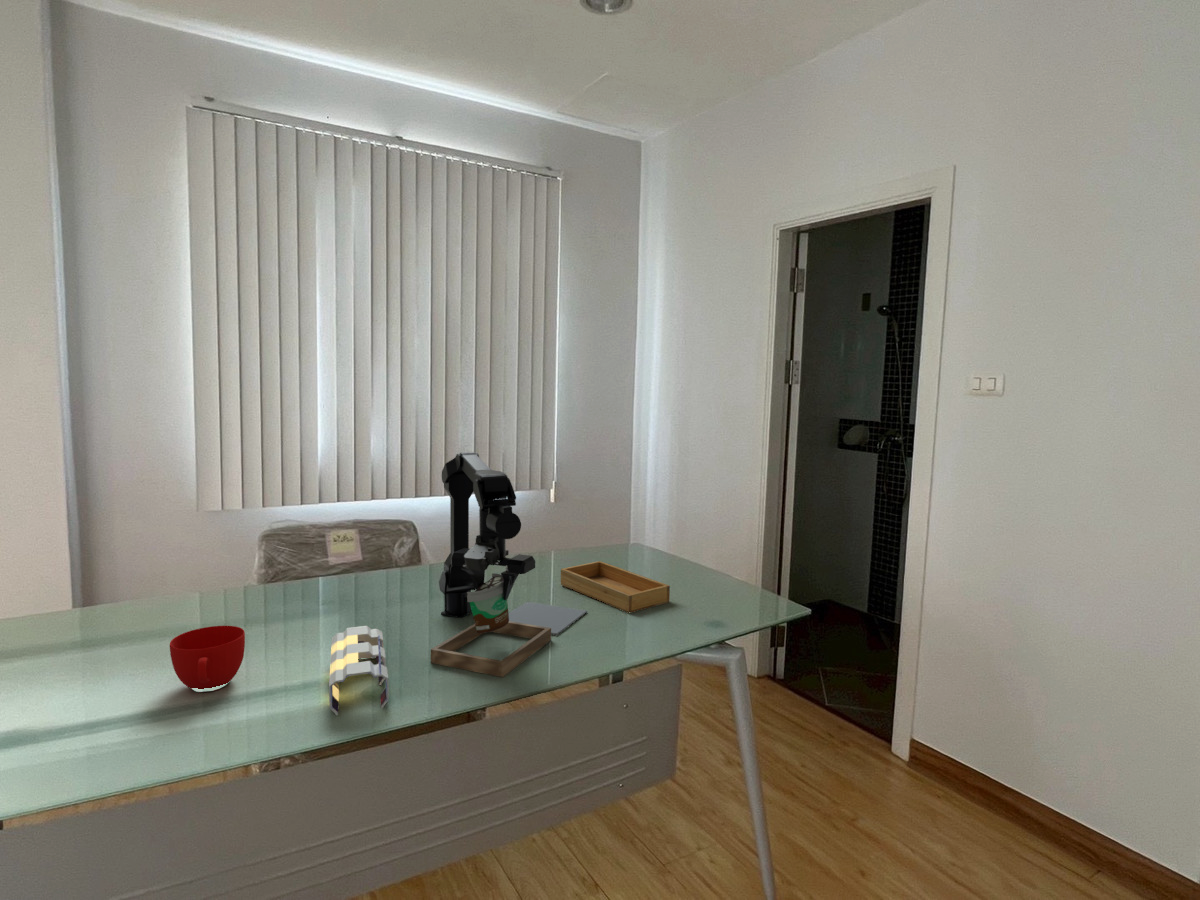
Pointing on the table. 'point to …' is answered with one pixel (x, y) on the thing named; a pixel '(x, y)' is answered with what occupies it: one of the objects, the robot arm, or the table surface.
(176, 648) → the ceramic cup
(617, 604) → the tray
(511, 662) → the walnut frame
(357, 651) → the jagged striped arch
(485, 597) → the food container
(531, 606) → the slate mat
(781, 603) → the table surface
